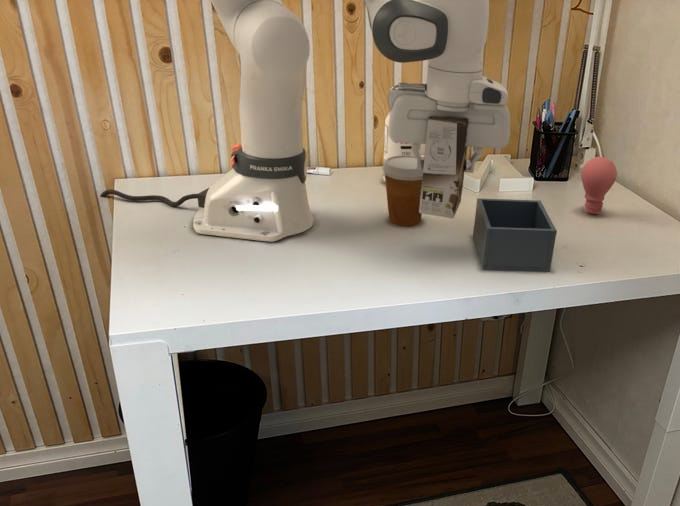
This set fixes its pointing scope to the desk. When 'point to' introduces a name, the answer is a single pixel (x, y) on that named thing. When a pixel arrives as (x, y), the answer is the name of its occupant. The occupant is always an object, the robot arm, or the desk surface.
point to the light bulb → (597, 182)
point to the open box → (513, 235)
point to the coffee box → (443, 166)
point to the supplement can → (395, 146)
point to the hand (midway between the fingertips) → (444, 170)
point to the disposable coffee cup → (403, 190)
